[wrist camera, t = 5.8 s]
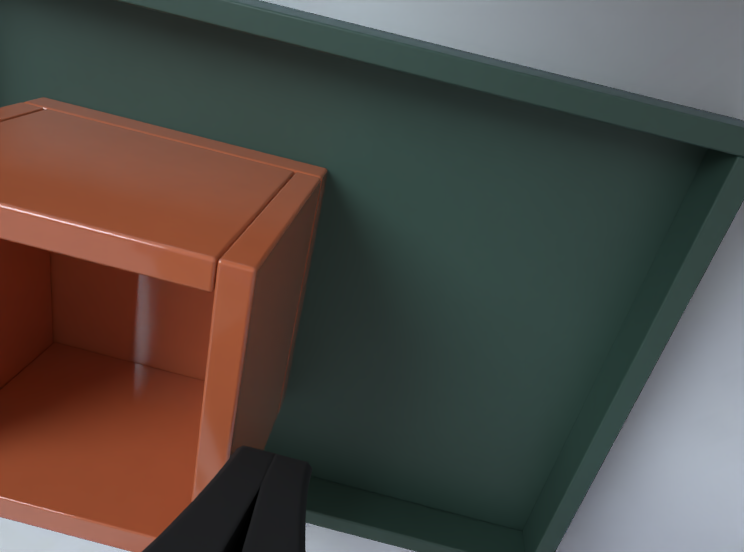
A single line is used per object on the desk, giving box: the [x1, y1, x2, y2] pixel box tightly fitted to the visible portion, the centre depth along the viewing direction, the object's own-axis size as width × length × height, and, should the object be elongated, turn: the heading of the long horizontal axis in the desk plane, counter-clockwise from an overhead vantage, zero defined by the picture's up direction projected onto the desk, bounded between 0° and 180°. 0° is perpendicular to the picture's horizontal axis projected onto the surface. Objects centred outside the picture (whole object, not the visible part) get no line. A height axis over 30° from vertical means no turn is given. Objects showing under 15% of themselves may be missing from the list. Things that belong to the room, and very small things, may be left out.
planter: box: [0, 97, 328, 552], centre depth 15 cm, size 6×8×8 cm
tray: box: [0, 0, 744, 552], centre depth 17 cm, size 15×21×2 cm
